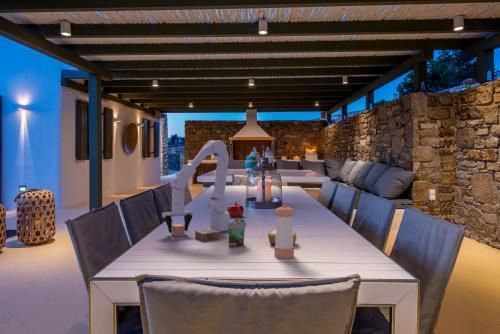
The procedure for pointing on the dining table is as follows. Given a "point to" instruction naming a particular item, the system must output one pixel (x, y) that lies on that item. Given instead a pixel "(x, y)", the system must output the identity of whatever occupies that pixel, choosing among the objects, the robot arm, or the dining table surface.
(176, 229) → the terracotta cube
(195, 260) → the dining table surface
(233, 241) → the food container
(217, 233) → the walnut block
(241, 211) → the pomegranate
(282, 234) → the pepper shaker
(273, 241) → the pastry
